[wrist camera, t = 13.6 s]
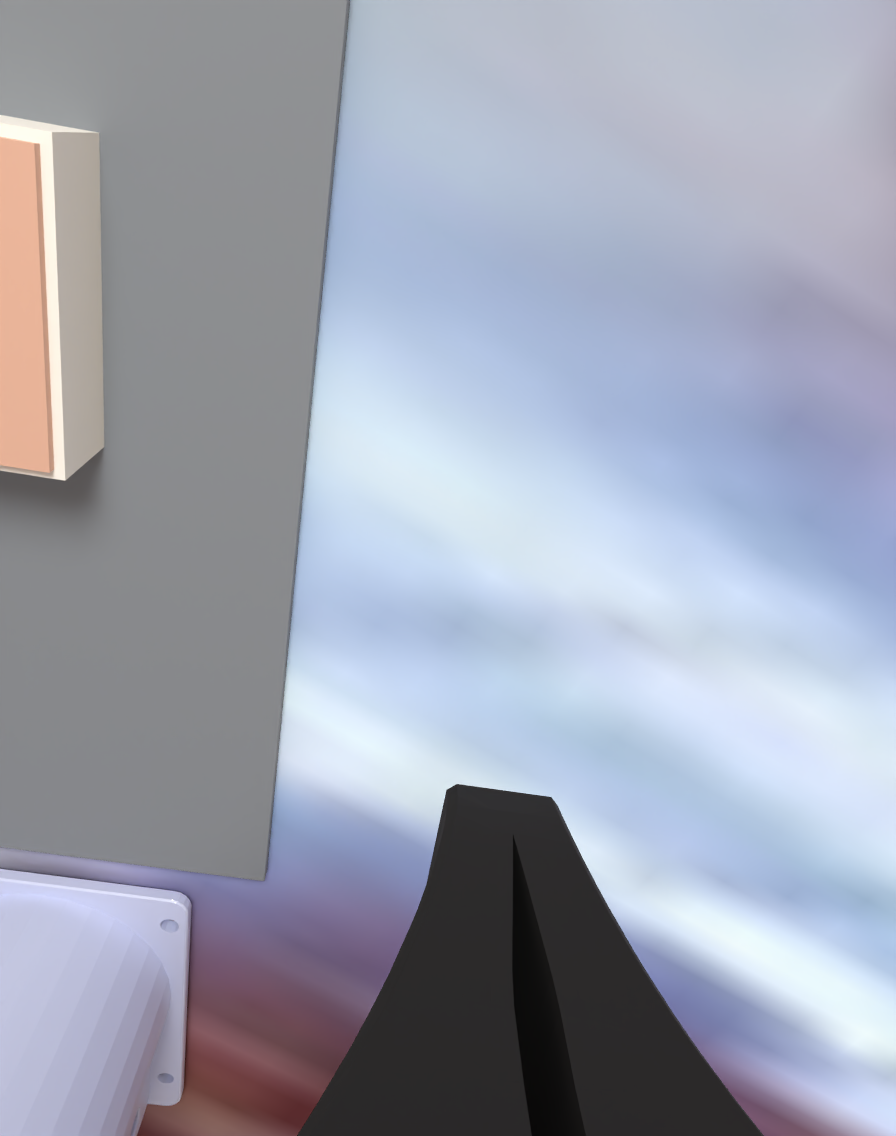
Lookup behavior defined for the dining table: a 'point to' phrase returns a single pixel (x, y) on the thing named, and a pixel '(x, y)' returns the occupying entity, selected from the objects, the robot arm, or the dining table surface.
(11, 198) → the tile
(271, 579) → the mat
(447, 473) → the dining table surface
